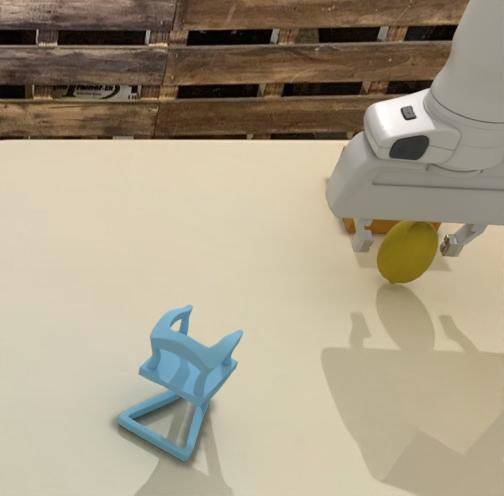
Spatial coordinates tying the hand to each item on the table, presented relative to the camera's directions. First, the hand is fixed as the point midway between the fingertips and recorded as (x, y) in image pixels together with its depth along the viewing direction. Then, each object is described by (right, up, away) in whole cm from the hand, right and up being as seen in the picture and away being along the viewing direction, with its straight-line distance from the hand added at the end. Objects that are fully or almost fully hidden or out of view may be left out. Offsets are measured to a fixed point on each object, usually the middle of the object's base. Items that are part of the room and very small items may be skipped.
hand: (403, 251), depth 96 cm
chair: (-27, -19, -9) cm, 34 cm away
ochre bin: (+3, +9, +11) cm, 15 cm away
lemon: (0, -2, +3) cm, 4 cm away
